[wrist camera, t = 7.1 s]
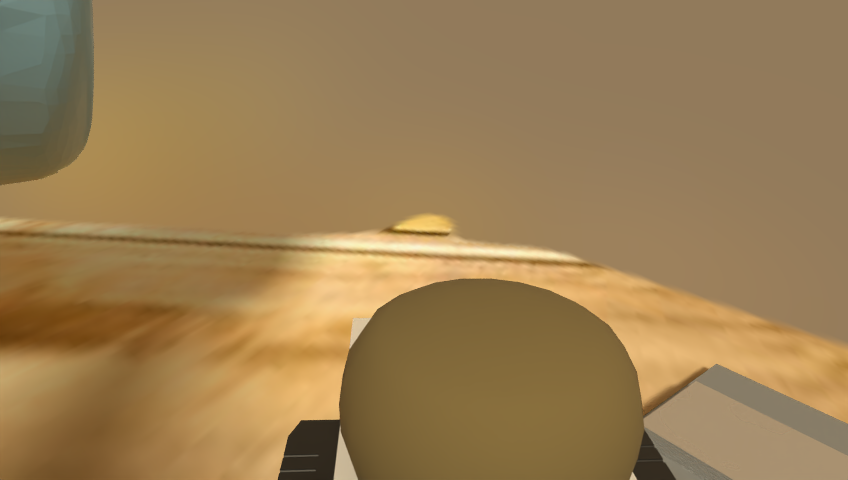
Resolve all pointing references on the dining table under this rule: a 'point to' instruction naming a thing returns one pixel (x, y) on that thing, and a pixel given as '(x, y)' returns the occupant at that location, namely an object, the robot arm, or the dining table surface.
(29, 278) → the dining table surface
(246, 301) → the dining table surface
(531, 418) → the cork
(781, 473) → the metal rail
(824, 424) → the mounting board
